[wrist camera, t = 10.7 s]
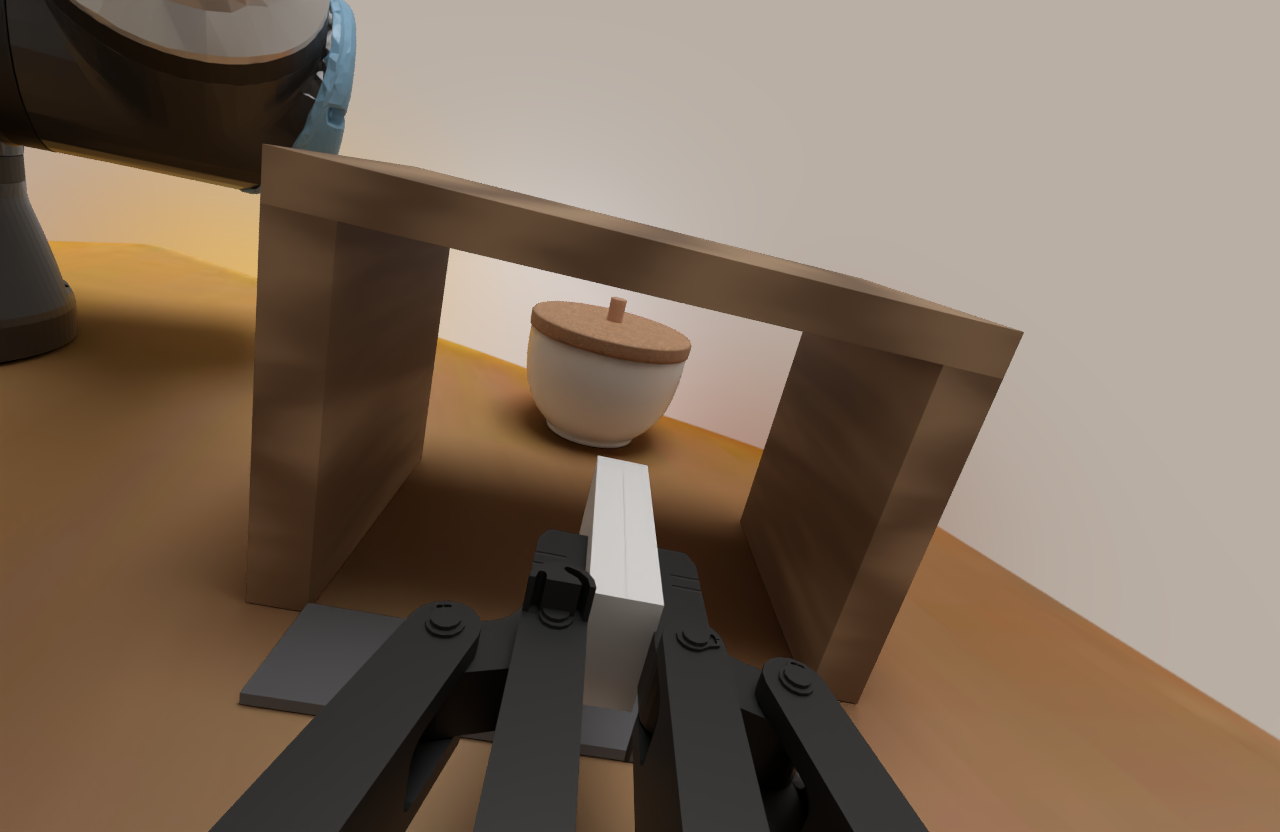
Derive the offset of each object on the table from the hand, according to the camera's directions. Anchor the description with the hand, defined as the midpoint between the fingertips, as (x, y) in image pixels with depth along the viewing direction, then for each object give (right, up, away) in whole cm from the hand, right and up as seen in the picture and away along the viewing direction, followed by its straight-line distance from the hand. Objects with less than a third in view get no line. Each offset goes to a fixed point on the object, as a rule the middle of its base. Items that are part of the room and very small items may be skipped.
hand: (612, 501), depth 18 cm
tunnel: (-2, -4, +10) cm, 11 cm away
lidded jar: (-3, +1, +25) cm, 25 cm away
